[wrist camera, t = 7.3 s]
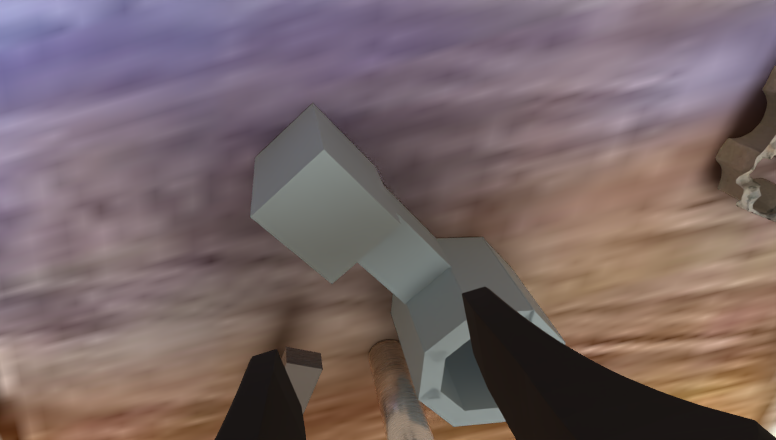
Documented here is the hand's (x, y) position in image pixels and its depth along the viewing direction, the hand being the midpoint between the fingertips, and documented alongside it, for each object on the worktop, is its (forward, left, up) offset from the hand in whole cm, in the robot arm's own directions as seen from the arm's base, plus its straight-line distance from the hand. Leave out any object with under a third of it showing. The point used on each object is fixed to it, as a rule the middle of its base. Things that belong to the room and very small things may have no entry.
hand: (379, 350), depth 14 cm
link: (-2, -2, -9) cm, 10 cm away
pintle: (-9, -2, -9) cm, 13 cm away
